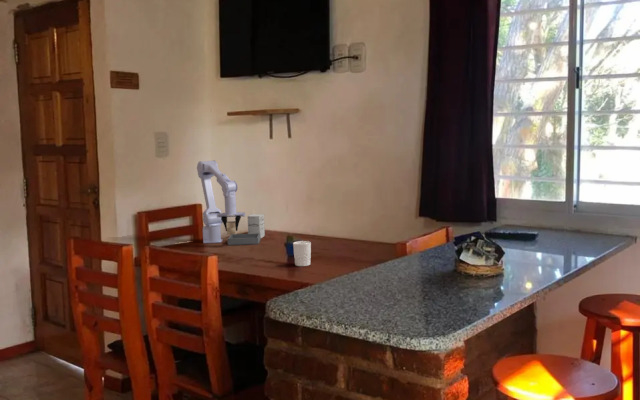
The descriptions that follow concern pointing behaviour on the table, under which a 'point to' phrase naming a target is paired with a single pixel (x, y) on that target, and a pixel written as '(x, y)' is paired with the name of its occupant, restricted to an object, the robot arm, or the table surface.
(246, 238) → the serving tray
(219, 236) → the robot arm
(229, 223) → the birch block
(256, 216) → the supplement box
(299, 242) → the white cup
